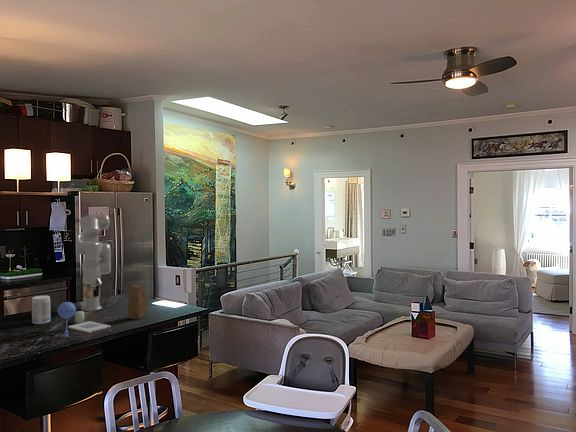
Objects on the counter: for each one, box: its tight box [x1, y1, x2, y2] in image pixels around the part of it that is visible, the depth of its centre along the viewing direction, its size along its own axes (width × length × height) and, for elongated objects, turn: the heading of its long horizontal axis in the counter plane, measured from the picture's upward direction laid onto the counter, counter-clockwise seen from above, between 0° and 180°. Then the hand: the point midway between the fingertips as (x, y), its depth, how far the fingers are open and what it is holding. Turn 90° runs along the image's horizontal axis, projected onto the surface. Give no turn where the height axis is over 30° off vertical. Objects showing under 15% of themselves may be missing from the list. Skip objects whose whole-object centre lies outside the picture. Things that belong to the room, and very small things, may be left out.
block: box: [127, 283, 148, 320], centre depth 292 cm, size 11×8×20 cm
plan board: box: [67, 321, 112, 334], centre depth 269 cm, size 18×14×1 cm
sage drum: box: [74, 310, 85, 324], centre depth 280 cm, size 5×5×6 cm
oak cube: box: [83, 286, 101, 299], centre depth 274 cm, size 6×6×6 cm
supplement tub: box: [31, 295, 52, 325], centre depth 279 cm, size 10×10×15 cm
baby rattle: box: [57, 301, 77, 338], centre depth 251 cm, size 9×9×18 cm
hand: (92, 295), depth 274 cm, fingers closed on oak cube, 6 cm apart
